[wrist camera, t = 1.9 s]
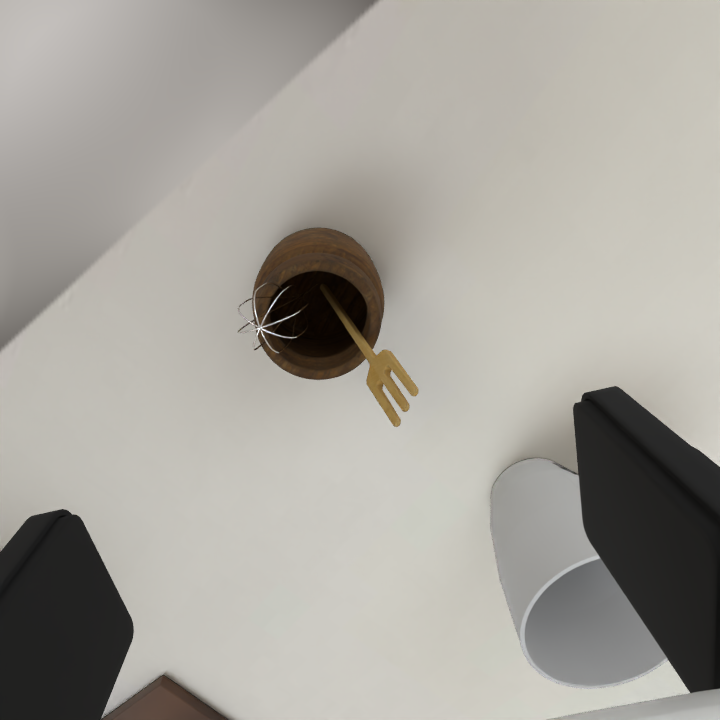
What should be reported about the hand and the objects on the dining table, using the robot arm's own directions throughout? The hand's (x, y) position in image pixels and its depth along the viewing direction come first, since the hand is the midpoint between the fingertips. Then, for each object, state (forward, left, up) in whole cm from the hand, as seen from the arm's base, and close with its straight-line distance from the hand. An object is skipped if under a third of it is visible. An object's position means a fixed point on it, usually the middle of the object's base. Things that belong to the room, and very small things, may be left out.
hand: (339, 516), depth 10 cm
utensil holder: (0, 0, -20) cm, 20 cm away
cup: (+16, -9, -20) cm, 27 cm away
